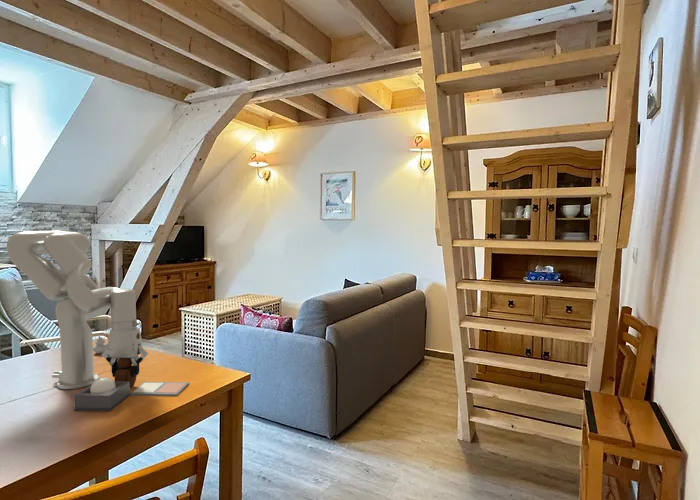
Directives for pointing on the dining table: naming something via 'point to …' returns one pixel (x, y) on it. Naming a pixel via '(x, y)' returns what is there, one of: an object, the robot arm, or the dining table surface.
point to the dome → (103, 385)
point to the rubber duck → (100, 346)
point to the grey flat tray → (160, 388)
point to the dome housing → (102, 398)
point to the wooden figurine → (125, 371)
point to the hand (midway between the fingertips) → (125, 375)
